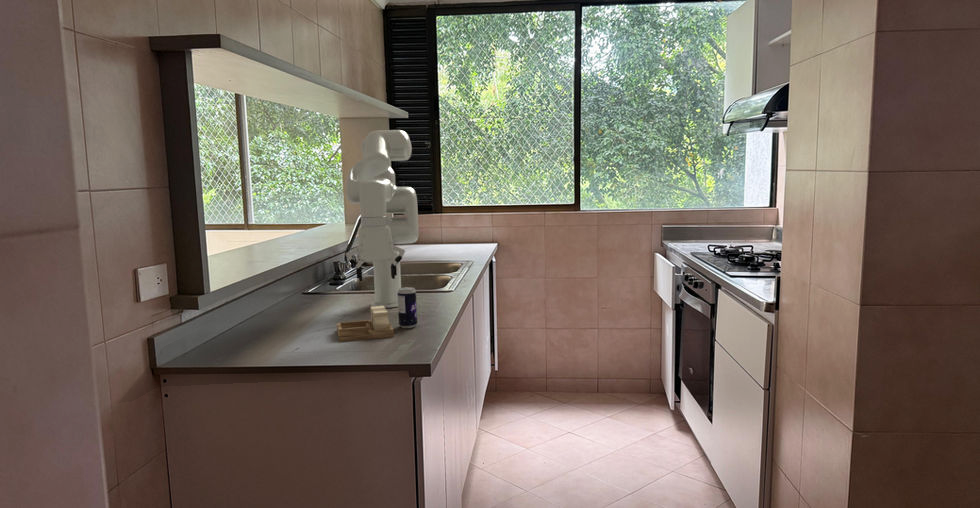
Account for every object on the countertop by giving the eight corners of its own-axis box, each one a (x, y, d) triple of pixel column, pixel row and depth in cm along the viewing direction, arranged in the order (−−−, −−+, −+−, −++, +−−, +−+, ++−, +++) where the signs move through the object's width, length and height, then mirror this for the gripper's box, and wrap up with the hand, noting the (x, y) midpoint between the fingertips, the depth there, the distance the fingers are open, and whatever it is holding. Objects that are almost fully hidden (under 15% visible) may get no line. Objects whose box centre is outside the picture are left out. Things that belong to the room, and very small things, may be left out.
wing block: (371, 325, 199) (370, 306, 199) (384, 324, 200) (383, 305, 200) (375, 333, 190) (373, 313, 189) (388, 332, 191) (387, 312, 190)
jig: (336, 330, 199) (336, 321, 198) (387, 326, 203) (387, 316, 202) (339, 341, 185) (338, 331, 185) (393, 336, 189) (393, 326, 189)
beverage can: (414, 328, 198) (412, 290, 197) (396, 328, 199) (394, 290, 198) (419, 324, 204) (418, 286, 202) (402, 324, 205) (400, 286, 203)
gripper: (401, 219, 197) (403, 274, 200) (343, 222, 192) (346, 279, 195) (405, 222, 190) (407, 279, 193) (344, 225, 185) (348, 284, 188)
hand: (377, 279), depth 194 cm, fingers open, 9 cm apart
